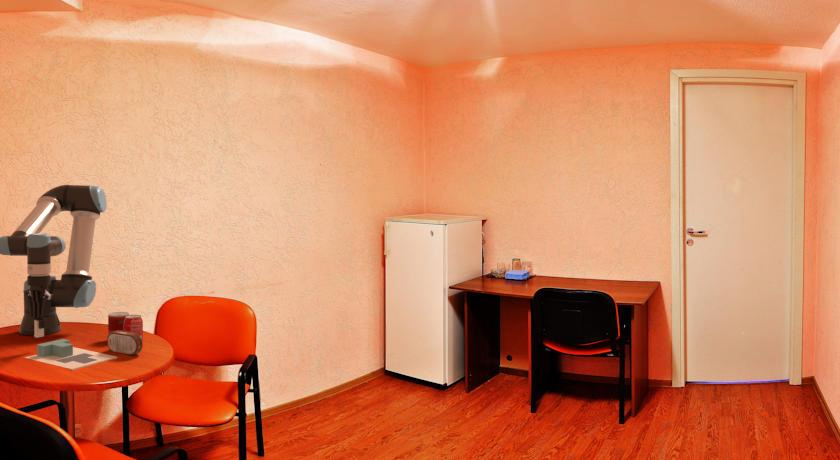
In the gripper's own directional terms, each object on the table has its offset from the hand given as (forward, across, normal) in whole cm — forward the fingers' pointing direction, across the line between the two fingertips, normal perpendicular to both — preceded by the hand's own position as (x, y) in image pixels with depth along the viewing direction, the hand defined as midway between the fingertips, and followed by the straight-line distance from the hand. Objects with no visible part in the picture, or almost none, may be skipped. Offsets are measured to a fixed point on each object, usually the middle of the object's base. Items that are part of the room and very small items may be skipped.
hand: (39, 336), depth 236 cm
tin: (+6, +28, +15) cm, 32 cm away
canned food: (+6, +10, +27) cm, 29 cm away
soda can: (+6, +22, +24) cm, 33 cm away
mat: (+6, +18, 0) cm, 19 cm away
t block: (+5, +11, 0) cm, 12 cm away
